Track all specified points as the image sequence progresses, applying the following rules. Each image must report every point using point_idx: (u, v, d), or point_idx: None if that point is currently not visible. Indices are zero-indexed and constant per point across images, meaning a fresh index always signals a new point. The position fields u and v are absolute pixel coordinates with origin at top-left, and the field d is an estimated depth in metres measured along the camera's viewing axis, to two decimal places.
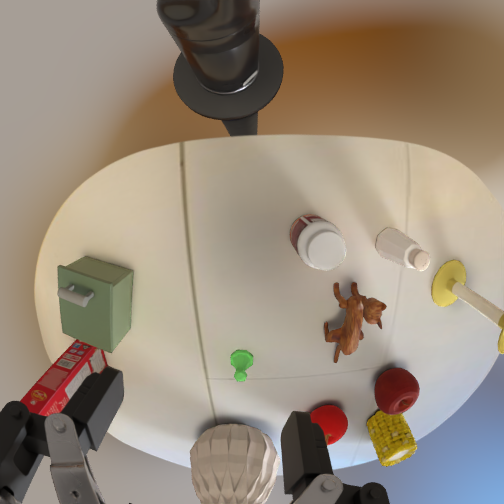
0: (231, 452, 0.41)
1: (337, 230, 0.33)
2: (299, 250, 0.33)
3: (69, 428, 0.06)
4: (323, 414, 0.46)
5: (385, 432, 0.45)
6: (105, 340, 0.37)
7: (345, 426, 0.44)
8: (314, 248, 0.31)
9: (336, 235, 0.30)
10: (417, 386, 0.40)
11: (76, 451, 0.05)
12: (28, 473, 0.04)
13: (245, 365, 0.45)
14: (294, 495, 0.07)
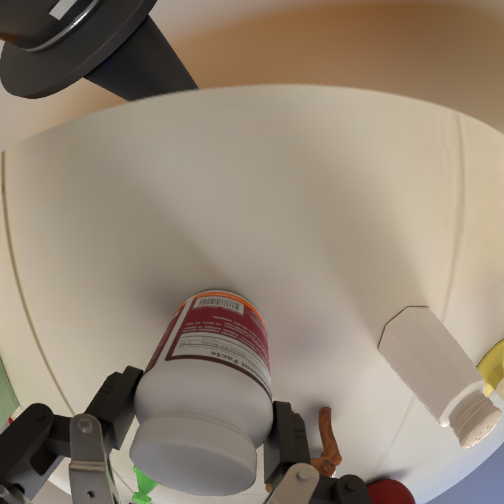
0: None
1: (242, 399, 0.09)
2: None
3: (95, 430, 0.06)
4: None
5: None
6: None
7: None
8: (146, 462, 0.07)
9: (210, 453, 0.06)
10: None
11: (99, 453, 0.06)
12: (43, 473, 0.05)
13: (150, 486, 0.21)
14: (272, 484, 0.08)
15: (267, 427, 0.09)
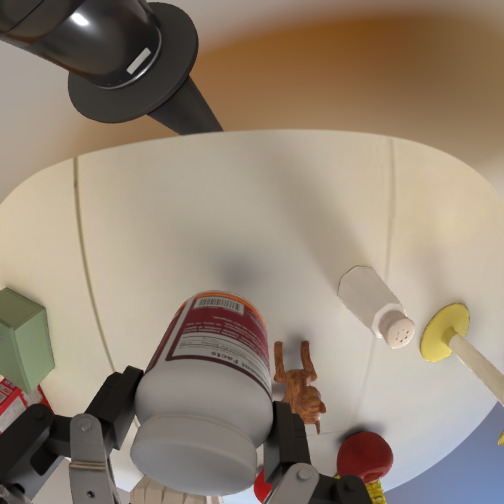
0: None
1: (242, 399, 0.09)
2: None
3: (95, 430, 0.06)
4: None
5: None
6: (21, 382, 0.25)
7: None
8: (146, 462, 0.07)
9: (211, 453, 0.06)
10: (390, 459, 0.28)
11: (99, 453, 0.06)
12: (44, 473, 0.05)
13: None
14: (272, 484, 0.08)
15: (267, 427, 0.09)
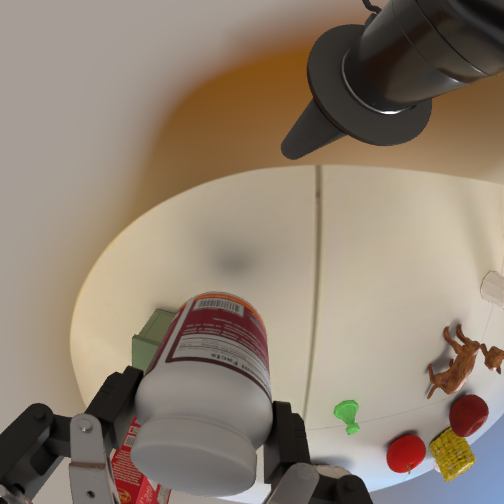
0: None
1: (242, 401, 0.09)
2: None
3: (95, 429, 0.07)
4: (407, 445, 0.37)
5: (451, 452, 0.36)
6: None
7: None
8: (147, 464, 0.07)
9: (211, 454, 0.06)
10: None
11: (99, 453, 0.06)
12: (44, 473, 0.05)
13: (354, 417, 0.36)
14: (272, 484, 0.08)
15: (267, 428, 0.09)
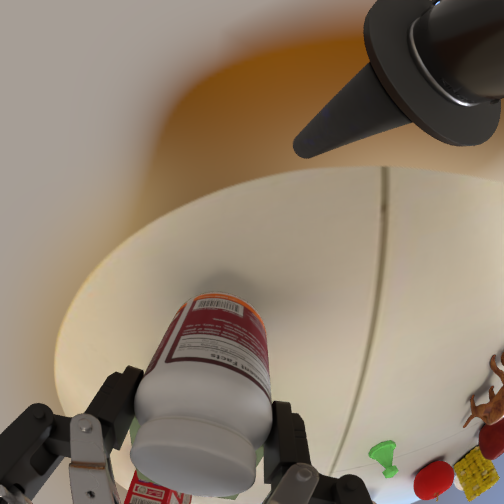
0: None
1: (241, 401, 0.09)
2: None
3: (95, 430, 0.06)
4: (437, 473, 0.27)
5: (476, 473, 0.26)
6: None
7: (453, 479, 0.25)
8: (146, 464, 0.07)
9: (210, 455, 0.06)
10: None
11: (99, 453, 0.06)
12: (44, 473, 0.05)
13: (392, 458, 0.26)
14: (272, 484, 0.08)
15: (266, 429, 0.09)
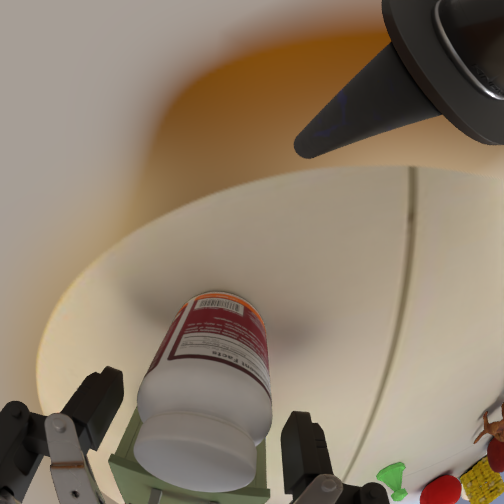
0: None
1: (242, 397, 0.09)
2: None
3: (69, 428, 0.06)
4: (445, 489, 0.23)
5: (483, 484, 0.22)
6: None
7: None
8: (149, 459, 0.07)
9: (212, 448, 0.07)
10: None
11: (76, 451, 0.05)
12: (28, 473, 0.04)
13: (401, 480, 0.22)
14: (294, 495, 0.07)
15: (266, 424, 0.10)
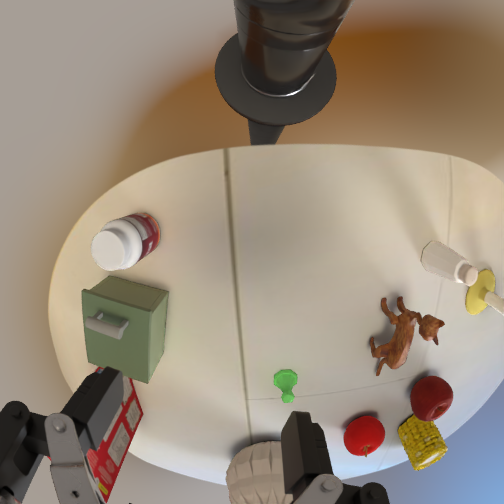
0: (274, 471, 0.38)
1: (127, 228, 0.29)
2: None
3: (69, 428, 0.06)
4: (362, 425, 0.43)
5: (417, 438, 0.41)
6: (141, 371, 0.34)
7: (383, 436, 0.41)
8: (95, 248, 0.27)
9: (111, 234, 0.27)
10: (452, 393, 0.37)
11: (76, 451, 0.05)
12: (28, 473, 0.04)
13: (291, 386, 0.41)
14: (294, 495, 0.07)
15: (136, 243, 0.29)
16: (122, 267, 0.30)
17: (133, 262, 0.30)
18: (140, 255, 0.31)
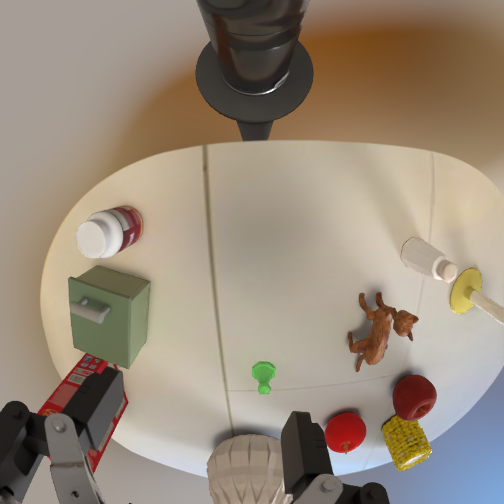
0: (252, 464, 0.39)
1: (109, 219, 0.30)
2: None
3: (69, 428, 0.06)
4: (342, 422, 0.44)
5: (401, 437, 0.43)
6: (122, 356, 0.35)
7: (364, 433, 0.42)
8: (79, 237, 0.28)
9: (94, 224, 0.28)
10: (435, 392, 0.38)
11: (76, 451, 0.05)
12: (28, 473, 0.04)
13: (268, 378, 0.43)
14: (294, 495, 0.07)
15: (117, 233, 0.31)
16: (104, 256, 0.31)
17: (114, 251, 0.32)
18: (121, 245, 0.32)
